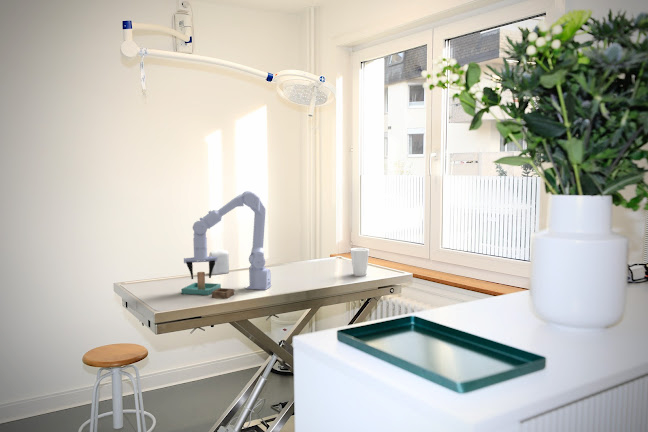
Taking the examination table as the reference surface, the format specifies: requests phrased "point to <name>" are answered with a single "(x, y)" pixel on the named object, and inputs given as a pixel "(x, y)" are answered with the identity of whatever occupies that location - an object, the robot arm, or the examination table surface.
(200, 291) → the teal tray
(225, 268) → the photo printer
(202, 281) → the dowel
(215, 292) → the walnut holder
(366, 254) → the foam cup
